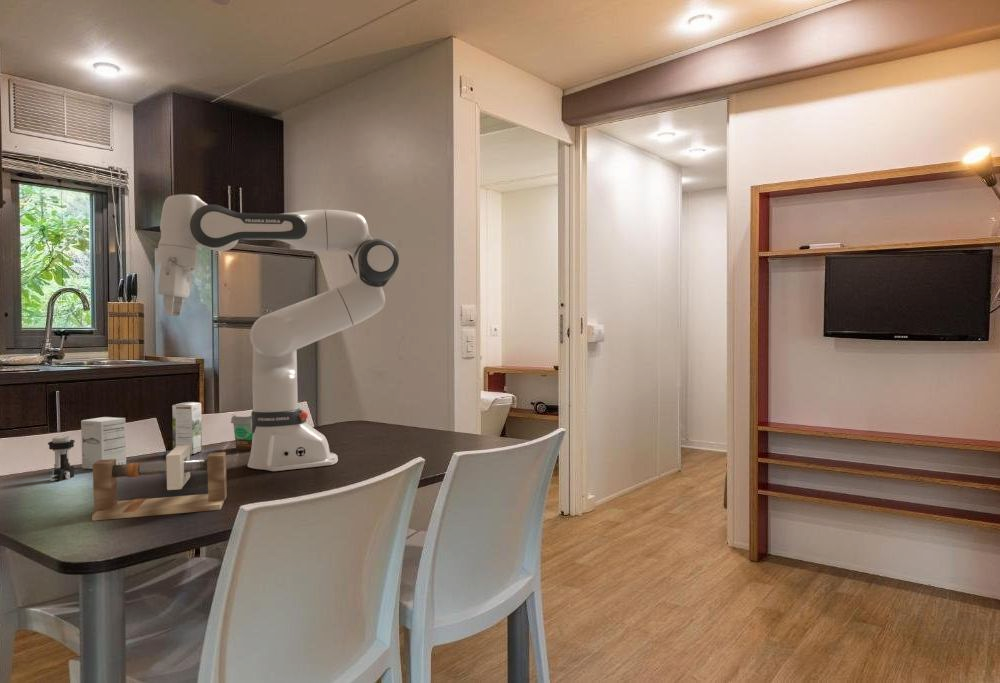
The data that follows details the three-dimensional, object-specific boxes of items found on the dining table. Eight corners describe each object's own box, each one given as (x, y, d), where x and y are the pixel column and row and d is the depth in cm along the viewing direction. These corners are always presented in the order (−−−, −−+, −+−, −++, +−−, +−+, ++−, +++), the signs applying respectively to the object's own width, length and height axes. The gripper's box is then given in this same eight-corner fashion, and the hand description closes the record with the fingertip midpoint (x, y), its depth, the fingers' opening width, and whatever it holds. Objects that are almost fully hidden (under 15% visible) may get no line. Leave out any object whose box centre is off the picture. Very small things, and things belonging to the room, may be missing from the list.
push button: (61, 482, 154) (60, 440, 154) (39, 483, 155) (38, 440, 154) (80, 476, 161) (79, 435, 161) (59, 476, 161) (58, 435, 161)
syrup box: (182, 452, 192) (181, 402, 191) (202, 451, 191) (201, 401, 191) (172, 456, 186) (171, 404, 186) (193, 455, 186) (191, 404, 185)
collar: (190, 476, 137) (189, 445, 137) (180, 489, 126) (180, 454, 126) (177, 477, 136) (176, 446, 136) (167, 490, 126) (166, 455, 126)
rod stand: (228, 497, 139) (227, 449, 138) (222, 509, 129) (221, 458, 129) (104, 507, 132) (103, 457, 132) (89, 520, 123) (87, 467, 122)
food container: (222, 451, 192) (221, 416, 192) (234, 447, 198) (233, 414, 198) (262, 451, 190) (261, 417, 190) (272, 448, 196) (272, 414, 196)
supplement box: (81, 469, 170) (79, 420, 170) (107, 463, 177) (106, 416, 176) (101, 470, 167) (100, 421, 167) (127, 465, 174) (126, 417, 174)
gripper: (183, 256, 154) (178, 316, 154) (197, 264, 174) (193, 317, 174) (153, 253, 152) (148, 313, 152) (171, 261, 172) (166, 314, 172)
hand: (172, 315), depth 163 cm, fingers open, 8 cm apart
